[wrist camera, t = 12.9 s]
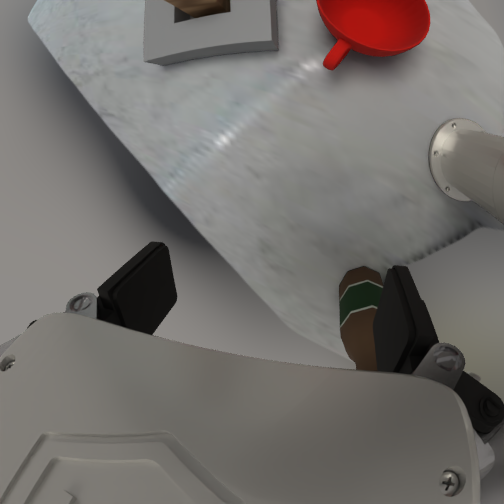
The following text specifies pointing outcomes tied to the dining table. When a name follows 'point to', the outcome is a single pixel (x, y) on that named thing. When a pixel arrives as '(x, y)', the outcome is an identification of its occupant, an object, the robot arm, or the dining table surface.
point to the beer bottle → (359, 315)
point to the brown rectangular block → (202, 7)
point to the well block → (208, 31)
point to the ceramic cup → (373, 26)
